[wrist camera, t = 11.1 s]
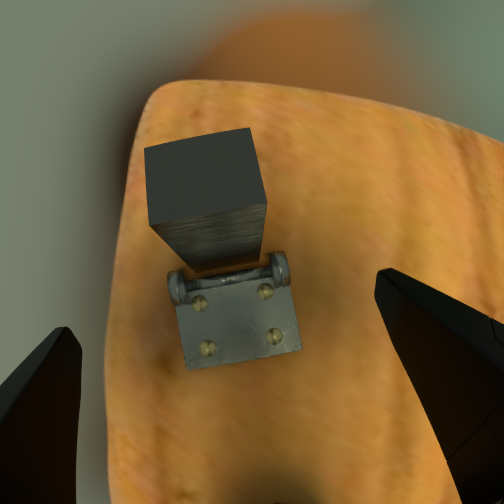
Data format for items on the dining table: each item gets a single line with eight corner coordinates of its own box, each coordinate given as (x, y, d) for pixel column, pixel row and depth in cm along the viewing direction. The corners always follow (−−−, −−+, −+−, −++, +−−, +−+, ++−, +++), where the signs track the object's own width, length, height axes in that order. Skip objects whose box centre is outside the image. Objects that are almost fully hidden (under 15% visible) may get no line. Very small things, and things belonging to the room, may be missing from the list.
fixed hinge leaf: (299, 348, 21) (305, 350, 19) (190, 367, 21) (183, 372, 18) (280, 254, 23) (284, 246, 20) (173, 274, 22) (165, 268, 20)
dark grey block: (258, 261, 22) (267, 202, 12) (196, 273, 22) (149, 225, 12) (249, 215, 23) (249, 127, 13) (188, 226, 23) (144, 148, 12)
